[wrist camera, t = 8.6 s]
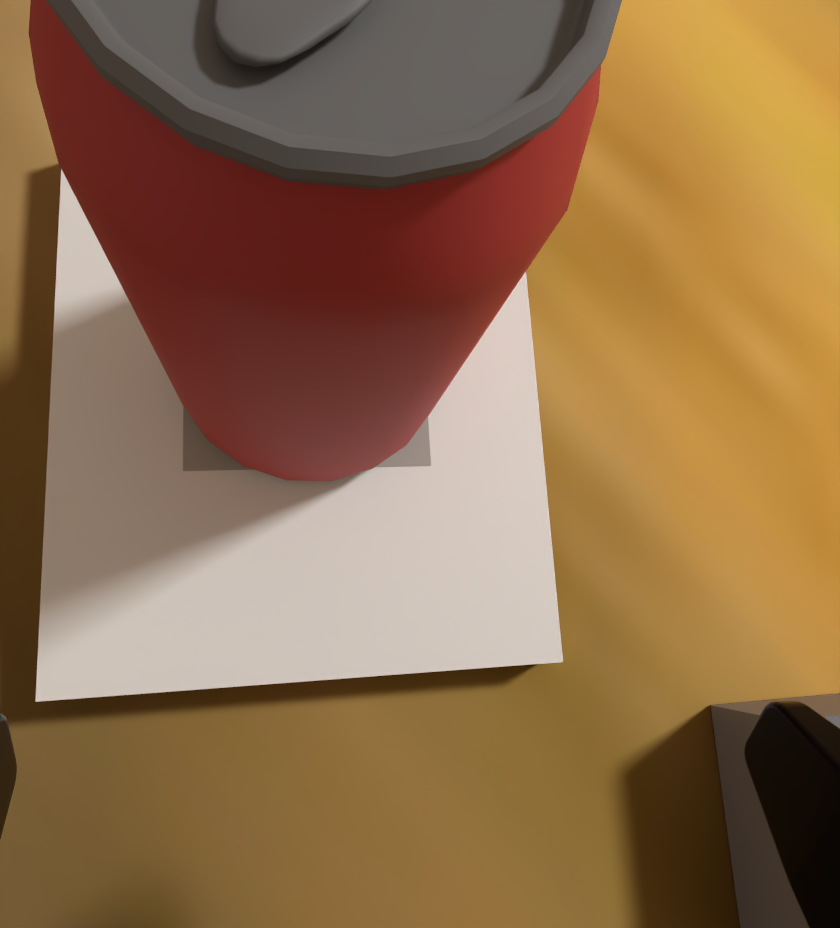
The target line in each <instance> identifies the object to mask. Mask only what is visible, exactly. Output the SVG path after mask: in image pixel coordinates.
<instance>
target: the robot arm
mask: <svg viewBox="0 0 840 928" xmlns="http://www.w3.org/2000/svg"><path fill="white" fill-rule="evenodd" d="M744 756H745V761H746V765H747V768H748V770H749V773H750V776H751V779H752V782H753V785H754V787H755V790H756V793H757V796H758V799H759V801H760V804H761V807H762V810H763V813H764V815H765V818H766V821H767V824H768V827H769V829H770V832H771V835H772V838H773V841H774V843H775V846H776V849H777V852H778V855H779V857H780V860H781V863H782V866H783V868H784V871H785V873H786V876H787V879H788V881H789V884H790V886H791V888H792V891H793V893H794V895H795V898H796V900H797V902H798V904H799V907H800V909H801V911H802V913H803V915H804V918H805V920H806V922H807V924H808V926H809V928H840V728H838V727H837V726H836V725H834V724H833V723H831V722H830V721H829V720H827V719H826V718H824V717H823V716H822V715H820V714H819V713H817V712H816V711H814V710H813V709H812V708H810V707H809V706H807V705H806V704H804V703H801V702H797V701H774V702H770V703H769V704H767V705H766V706H765V707H764V709H763V710H762V712H761V714H760V716H759V718H758V720H757V721H756V723H755V725H754V727H753V729H752V731H751V732H750V734H749V736H748V738H747V740H746V742H745V746H744ZM16 771H17V765H16V758H15V754H14V749H13V744H12V740H11V735H10V731H9V726H8V722H7V719H6V717H5V716H4V715H3V714H1V713H0V839H1V835H2V831H3V827H4V823H5V820H6V816H7V812H8V808H9V804H10V801H11V797H12V793H13V789H14V785H15V780H16Z"/></svg>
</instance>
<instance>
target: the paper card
mask: <svg viewBox="0 0 840 928" xmlns="http://www.w3.org/2000/svg"><path fill="white" fill-rule="evenodd" d="M557 662H563V657H562V646H561V636H560V625H559V615H558V604H557V594H556V583H555V573H554V562H553V552H552V541H551V531H550V520H549V510H548V499H547V489H546V478H545V468H544V457H543V447H542V436H541V425H540V415H539V404H538V394H537V383H536V373H535V362H534V352H533V341H532V331H531V320H530V310H529V299H528V289H527V278H526V272H525V273H524V275H523V276H522V278H521V279H520V281H519V282H518V284H517V285H516V287H515V288H514V289H513V291H512V292H511V294H510V295H509V297H508V298H507V300H506V301H505V303H504V304H503V306H502V307H501V309H500V310H499V312H498V313H497V315H496V316H495V318H494V319H493V321H492V322H491V324H490V325H489V327H488V328H487V330H486V331H485V333H484V334H483V336H482V337H481V339H480V340H479V342H478V343H477V345H476V346H475V348H474V349H473V350H472V352H471V353H470V355H469V356H468V358H467V359H466V361H465V362H464V364H463V365H462V367H461V368H460V370H459V371H458V373H457V374H456V376H455V377H454V379H453V380H452V382H451V383H450V385H449V386H448V388H447V389H446V391H445V392H444V394H443V395H442V397H441V398H440V400H439V401H438V403H437V404H436V406H435V407H434V409H433V410H432V412H431V413H430V414H429V416H428V417H427V418H426V420H425V421H424V422H423V424H422V425H421V426H420V428H419V429H418V430H417V432H416V433H415V434H414V436H413V437H412V439H411V440H410V441H409V443H408V444H407V445H406V446H405V447H403V448H402V449H400V450H399V451H397V452H396V453H395V454H393V455H392V456H390V457H389V458H387V459H386V460H384V461H383V462H382V463H380V464H379V465H377V466H376V467H374V468H373V469H370V470H367V471H364V472H360V473H357V474H353V475H350V476H347V477H343V478H340V479H337V480H333V481H292V480H284V479H281V478H278V477H275V476H272V475H269V474H266V473H263V472H260V471H257V470H254V469H251V468H248V467H245V466H243V465H241V464H240V463H239V462H237V461H236V460H235V459H233V458H232V457H231V456H229V455H228V454H226V453H225V452H224V451H222V450H221V449H220V448H218V447H217V446H216V445H214V444H213V443H211V442H210V441H209V440H207V438H206V437H205V435H204V434H203V433H202V431H201V430H200V428H199V427H198V426H197V424H196V423H195V421H194V420H193V418H192V417H191V416H190V414H189V413H188V411H187V410H186V409H185V407H184V406H183V404H182V403H181V401H180V399H179V397H178V395H177V393H176V391H175V389H174V387H173V385H172V383H171V381H170V379H169V377H168V375H167V373H166V371H165V369H164V368H163V366H162V364H161V362H160V360H159V358H158V356H157V354H156V352H155V350H154V348H153V346H152V344H151V342H150V340H149V338H148V336H147V335H146V333H145V331H144V329H143V327H142V325H141V323H140V321H139V319H138V317H137V315H136V313H135V311H134V309H133V307H132V305H131V303H130V301H129V300H128V298H127V296H126V294H125V292H124V290H123V288H122V286H121V284H120V282H119V280H118V278H117V276H116V274H115V272H114V270H113V268H112V266H111V265H110V263H109V261H108V259H107V257H106V255H105V253H104V251H103V249H102V247H101V245H100V243H99V241H98V239H97V237H96V235H95V233H94V231H93V230H92V228H91V226H90V224H89V222H88V220H87V218H86V216H85V214H84V212H83V210H82V208H81V206H80V204H79V202H78V200H77V198H76V196H75V195H74V193H73V191H72V189H71V187H70V185H69V183H68V181H67V179H66V177H65V175H64V173H63V171H62V169H61V185H60V206H59V226H58V247H57V267H56V288H55V309H54V329H53V350H52V371H51V391H50V412H49V432H48V453H47V474H46V494H45V515H44V536H43V556H42V577H41V597H40V618H39V639H38V659H37V680H36V701H35V702H40V701H53V700H66V699H80V698H93V697H106V696H119V695H133V694H146V693H159V692H172V691H186V690H199V689H212V688H225V687H239V686H252V685H265V684H279V683H292V682H305V681H318V680H332V679H345V678H358V677H371V676H385V675H398V674H411V673H425V672H438V671H451V670H464V669H478V668H491V667H504V666H517V665H531V664H544V663H557Z"/></svg>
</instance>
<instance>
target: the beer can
mask: <svg viewBox="0 0 840 928" xmlns="http://www.w3.org/2000/svg"><path fill="white" fill-rule="evenodd" d="M621 1H622V0H31V6H30V21H29V38H30V45H31V51H32V57H33V64H34V70H35V77H36V83H37V87H38V91H39V94H40V98H41V101H42V105H43V109H44V112H45V116H46V119H47V123H48V127H49V130H50V134H51V137H52V141H53V145H54V148H55V152H56V155H57V159H58V163H59V165H60V167H61V169H62V171H63V173H64V175H65V177H66V179H67V181H68V183H69V185H70V187H71V189H72V191H73V193H74V195H75V196H76V198H77V200H78V202H79V204H80V206H81V208H82V210H83V212H84V214H85V216H86V218H87V220H88V222H89V224H90V226H91V228H92V230H93V231H94V233H95V235H96V237H97V239H98V241H99V243H100V245H101V247H102V249H103V251H104V253H105V255H106V257H107V259H108V261H109V263H110V265H111V266H112V268H113V270H114V272H115V274H116V276H117V278H118V280H119V282H120V284H121V286H122V288H123V290H124V292H125V294H126V296H127V298H128V300H129V301H130V303H131V305H132V307H133V309H134V311H135V313H136V315H137V317H138V319H139V321H140V323H141V325H142V327H143V329H144V331H145V333H146V335H147V336H148V338H149V340H150V342H151V344H152V346H153V348H154V350H155V352H156V354H157V356H158V358H159V360H160V362H161V364H162V366H163V368H164V369H165V371H166V373H167V375H168V377H169V379H170V381H171V383H172V385H173V387H174V389H175V391H176V393H177V395H178V397H179V399H180V401H181V403H182V404H183V406H184V407H185V409H186V410H187V411H188V413H189V414H190V416H191V417H192V418H193V420H194V421H195V423H196V424H197V426H198V427H199V428H200V430H201V431H202V433H203V434H204V435H205V437H206V438H207V440H209V441H210V442H211V443H213V444H214V445H216V446H217V447H218V448H220V449H221V450H222V451H224V452H225V453H226V454H228V455H229V456H231V457H232V458H233V459H235V460H236V461H237V462H239V463H240V464H241V465H243V466H245V467H248V468H251V469H254V470H257V471H260V472H263V473H266V474H269V475H272V476H275V477H278V478H281V479H284V480H292V481H333V480H337V479H340V478H343V477H347V476H350V475H353V474H357V473H360V472H364V471H367V470H370V469H373V468H374V467H376V466H377V465H379V464H380V463H382V462H383V461H384V460H386V459H387V458H389V457H390V456H392V455H393V454H395V453H396V452H397V451H399V450H400V449H402V448H403V447H405V446H406V445H407V444H408V443H409V441H410V440H411V439H412V437H413V436H414V434H415V433H416V432H417V430H418V429H419V428H420V426H421V425H422V424H423V422H424V421H425V420H426V418H427V417H428V416H429V414H430V413H431V412H432V410H433V409H434V407H435V406H436V404H437V403H438V401H439V400H440V398H441V397H442V395H443V394H444V392H445V391H446V389H447V388H448V386H449V385H450V383H451V382H452V380H453V379H454V377H455V376H456V374H457V373H458V371H459V370H460V368H461V367H462V365H463V364H464V362H465V361H466V359H467V358H468V356H469V355H470V353H471V352H472V350H473V349H474V348H475V346H476V345H477V343H478V342H479V340H480V339H481V337H482V336H483V334H484V333H485V331H486V330H487V328H488V327H489V325H490V324H491V322H492V321H493V319H494V318H495V316H496V315H497V313H498V312H499V310H500V309H501V307H502V306H503V304H504V303H505V301H506V300H507V298H508V297H509V295H510V294H511V292H512V291H513V289H514V288H515V287H516V285H517V284H518V282H519V281H520V279H521V278H522V276H523V275H524V273H525V272H526V270H527V269H528V267H529V266H530V264H531V263H532V261H533V260H534V258H535V257H536V255H537V254H538V252H539V251H540V249H541V248H542V246H543V245H544V243H545V242H546V240H547V239H548V237H549V236H550V234H551V233H552V231H553V230H554V228H555V227H556V226H557V224H558V223H559V221H560V220H561V218H562V217H563V215H564V214H565V212H566V211H567V209H568V205H569V202H570V198H571V195H572V191H573V188H574V184H575V181H576V177H577V174H578V170H579V167H580V163H581V160H582V156H583V153H584V149H585V146H586V142H587V139H588V135H589V132H590V128H591V125H592V121H593V118H594V114H595V110H596V107H597V103H598V98H599V85H600V71H601V64H602V62H603V60H604V58H605V57H606V53H607V50H608V46H609V43H610V39H611V36H612V33H613V29H614V26H615V22H616V19H617V15H618V12H619V8H620V5H621Z"/></svg>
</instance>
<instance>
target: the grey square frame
mask: <svg viewBox="0 0 840 928" xmlns="http://www.w3.org/2000/svg"><path fill="white" fill-rule="evenodd" d="M774 701H797V702H801V703H804V704H806V705H807V706H809V707H810V708H812V709H813V710H814V711H816V712H817V713H819V714H820V715H822V716H823V717H824V718H826V719H827V720H829V721H830V722H831V723H833V724H834V725H836V726H837V727H838V728H840V693H838V694H827V695H816V696H805V697H794V698H783V699H772V700H761V701H750V702H739V703H728V704H717V705H710V706H711V713H712V721H713V728H714V736H715V743H716V751H717V758H718V766H719V773H720V781H721V788H722V795H723V803H724V810H725V818H726V825H727V833H728V840H729V848H730V855H731V863H732V870H733V878H734V885H735V893H736V900H737V908H738V915H739V923H740V928H809V926H808V924H807V922H806V920H805V918H804V915H803V913H802V911H801V909H800V907H799V904H798V902H797V900H796V898H795V895H794V893H793V891H792V888H791V886H790V884H789V881H788V879H787V876H786V873H785V871H784V868H783V866H782V863H781V860H780V857H779V855H778V852H777V849H776V846H775V843H774V841H773V838H772V835H771V832H770V829H769V827H768V824H767V821H766V818H765V815H764V813H763V810H762V807H761V804H760V801H759V799H758V796H757V793H756V790H755V787H754V785H753V782H752V779H751V776H750V773H749V770H748V768H747V765H746V761H745V756H744V746H745V742H746V740H747V738H748V736H749V734H750V732H751V731H752V729H753V727H754V725H755V723H756V721H757V720H758V718H759V716H760V714H761V712H762V710H763V709H764V707H765V706H766V705H767V704H769V703H770V702H774Z"/></svg>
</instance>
